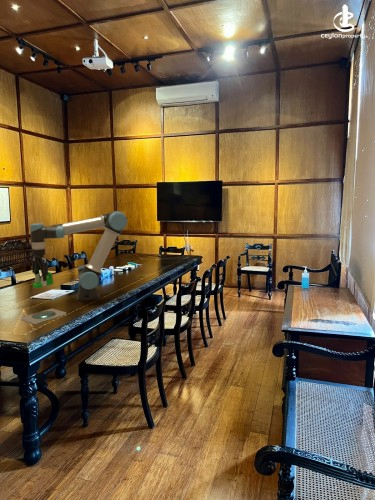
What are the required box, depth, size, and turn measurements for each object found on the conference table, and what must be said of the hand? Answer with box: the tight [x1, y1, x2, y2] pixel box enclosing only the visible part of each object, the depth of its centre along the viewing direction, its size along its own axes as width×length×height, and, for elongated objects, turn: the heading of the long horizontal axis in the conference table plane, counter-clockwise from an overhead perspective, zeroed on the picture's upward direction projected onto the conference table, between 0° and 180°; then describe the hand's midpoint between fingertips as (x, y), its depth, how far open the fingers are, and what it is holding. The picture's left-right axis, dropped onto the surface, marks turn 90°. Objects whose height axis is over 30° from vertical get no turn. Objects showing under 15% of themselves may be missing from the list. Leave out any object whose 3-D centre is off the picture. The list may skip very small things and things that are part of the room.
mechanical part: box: [32, 271, 54, 289], centre depth 218 cm, size 12×6×8 cm, turn 155°
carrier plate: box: [20, 308, 67, 325], centre depth 204 cm, size 20×14×1 cm
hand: (41, 285), depth 218 cm, fingers closed on mechanical part, 7 cm apart
